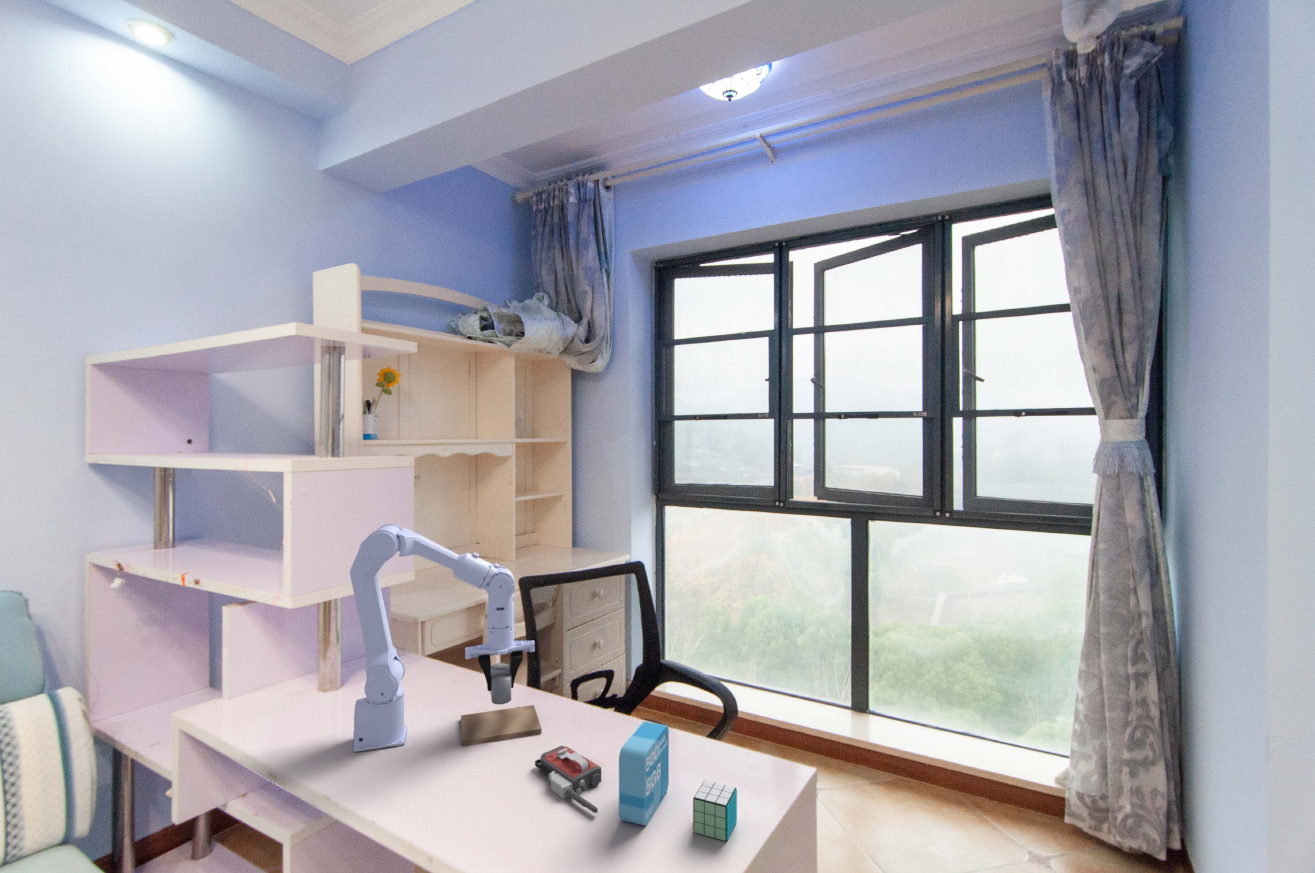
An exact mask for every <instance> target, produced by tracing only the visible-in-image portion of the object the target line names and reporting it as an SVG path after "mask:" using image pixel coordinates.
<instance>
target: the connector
mask: <svg viewBox="0 0 1315 873" xmlns="http://www.w3.org/2000/svg"><path fill="white" fill-rule="evenodd" d="M489 694H490V700H491V703H492V704H493V705H504V704H505V705H506V704H508V703H510V702H511V701H512V688H511V673H510V664H507V663H505V662H500V663H499V662H498V663H494V664H491V691H489Z"/></svg>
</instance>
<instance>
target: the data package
mask: <svg viewBox="0 0 1315 873" xmlns="http://www.w3.org/2000/svg"><path fill="white" fill-rule="evenodd" d="M669 730H670V729H669V727H668V725H666V724H661V723H660V724H659V723H655V722H649V721H642V723H641V724H640V725H639V726H638V727H637V728H636V729H635V731H634V732H633V734H631V735H630V737H629V738H628V739H627V741H625V743H624V744H623V745H622V746H621V748H620V751H619V755H618V818H619V819H620V820H621V821H624V822H629V823H632V824H637V825H640V826H647V825H648V823H649V822H650V820H651V819H652V817H653V816H654V813H655V812H656V811H657V809H658V807H659V806H660V804H661V802H662V800H663V799H664V798H665V797H666V794H667V792H668V790H669V789H668V788H669V784H670V783H669V778H670V777H669V773H670V772H669V770H670V768H669V766H670V764H669V762H670V761H669V760H670V758H669V754H670V753H669V752H670V749H669V748H670V746H669V744H670V743H669V741H670V740H669V739H670V738H669V736H670V734H669V732H670V731H669Z"/></svg>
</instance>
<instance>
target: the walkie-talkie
mask: <svg viewBox="0 0 1315 873" xmlns="http://www.w3.org/2000/svg"><path fill="white" fill-rule="evenodd" d="M534 766H535V767H536V768H537V769H539V772H540V773H541V774H543V775H544V776H546V777H548V781H550V790H551V791H552V792H553V793H555V794H557V795H558V796H559V797H560V798H561V799H563V800H565V799H566V798H568V799H572V800H573V801H574V802H576V803H577V804H579V805H581V806H582V807H584V808H586V809H587V810H589V811H590V812H592V813H594V814H597V813H598V811H599V810H598V807H597V806H595V805H594V804H592V803H591V802H590V801H588V800H587V799H585V798H584V797H583V796H581V794H582V792H584V791H586V790H588V789H589V788H592V787H597V786H598V785H600V783H601V782H602V767H601V766H600V765H598V764H596V763H595V762H593V761H591V760H590V759H588V758H587V757H585V756H583V755H582V754H580V753H579V752H577V751H575V750H574V749H572V748H570V747H569V746H566V745H565V746H564V745H559V746H557V747H555V748H553V749H551V750H548V751H545V752H543V753H542V754H541V755H540V758H539V759H536V760H535V762H534Z"/></svg>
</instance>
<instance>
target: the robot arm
mask: <svg viewBox="0 0 1315 873" xmlns="http://www.w3.org/2000/svg"><path fill="white" fill-rule="evenodd" d="M398 552H399V555H398V558H401V557H402V558H403V557H410V556H413V555H415V556H419V557H420V558H421V557H422V558H424V559H426V560H428V561H431V562H433V563H436V564H439V565H440V566H443V567H446V568H448V569H450V570H451V571H452V574H453V577H454V578H455V579H457V580H460V581H462V582H464V583H467V584H468V585H470V586H473V587H475V588H478V589H480V590H485V591H486V593H487V595H488V596H487V597H488V598H487V599H488V600H487V604H486V643H483V644H479V645H473V646H468V647H465V648H464V649H465V650H464V654H465V656H464V658H465V660H471V659H473V658H477V659H478V664H479V666H480V668H481V670H482V672H483V675H484V679H485V680H486V685H487V691H488V692H490V691H491V666H492V661H491V656H498V655H499V656H500V655H507V654H509V669H510V673H511V689H514V684H515V679H516V676H517V673H518V670H519V668H520V666H521V664H522V662H523V659H524V655H523V653H526V652H529V653H534V652H536V650H535V649H536V648H535V647H536V646H535V644H536V643H535V640H515V602H514V598H515V596H514V591H515V588H516V585H515V578H514V574H513V572H512V571H511V570H510V569H508V568H507V567H506V566H502V565H501V566H500V565H499V564H498V563H496V562H495V563H494V564H493V563H491V562H489V561H486V560H485V559H484V558H483V559H482V558H480V557H479V556H480V554H479V553H477V552H473V553H470V552H465V553H462V554H457V553H456V552H454V551H452V550H450V549H448V548H447V547H445V546H442V545H440V544H438V543H437V542H435V541H433V540H431V539H429V538H428V537H425V536H423V535H421V534H419V533H417V532H415V531H413V530H411V529H409V528H405V527H404V528H402V527H401V526H400V525H397V524H394V523H386V524H383V525H381V526H379V527H378V528H377V529H376V530H374V531H372V532H371V533H370V534H369V535H367V537H366V538H365V539H364V540H363V541H362V542H361V543H360V544H359V548H358V550H357V554H356V556H355V558H354V560H353V562H352V565H351V567H350V570H349V576H350V579H351V580H350V581H351V586H352V591H353V595H354V599H355V600H354V601H355V605H356V610H357V614H358V619H359V620H358V621H359V625H360V628H361V634H362V639H363V643H364V648H365V653H366V664H365V673H366V681H365V683H364V694H365V697H363V698H359V699H356V700H355V705H354V710H353V711H354V712H353V714H354V715H353V733H352V734H353V750H352V751H353V752H355V753H357V752H364V751H371V750H376V749H382V748H388V747H395V746H402V745H405V744H406V741H407V740H406V738H407V731H408V725H407V724H405V689H404V688H403V687H402V684H401V681H402V680H403V678H404V677H405V674H406V673H405V672H406V666H405V663H404V662H403V661H402V660H401V659H400V657H399V656H398V651H397V649H396V647H395V646H394V644H393V640H392V636H391V631H390V626H389V622H388V617H387V611H386V607H385V603H384V597H383V593H382V587H381V583H380V578H379V577H380V576H379V571H380V570H382V567H383V566H384V565H385V564H386V563H387V561H389V560H390V559H392V558H393V557H394V556H396V554H397V553H398Z"/></svg>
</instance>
